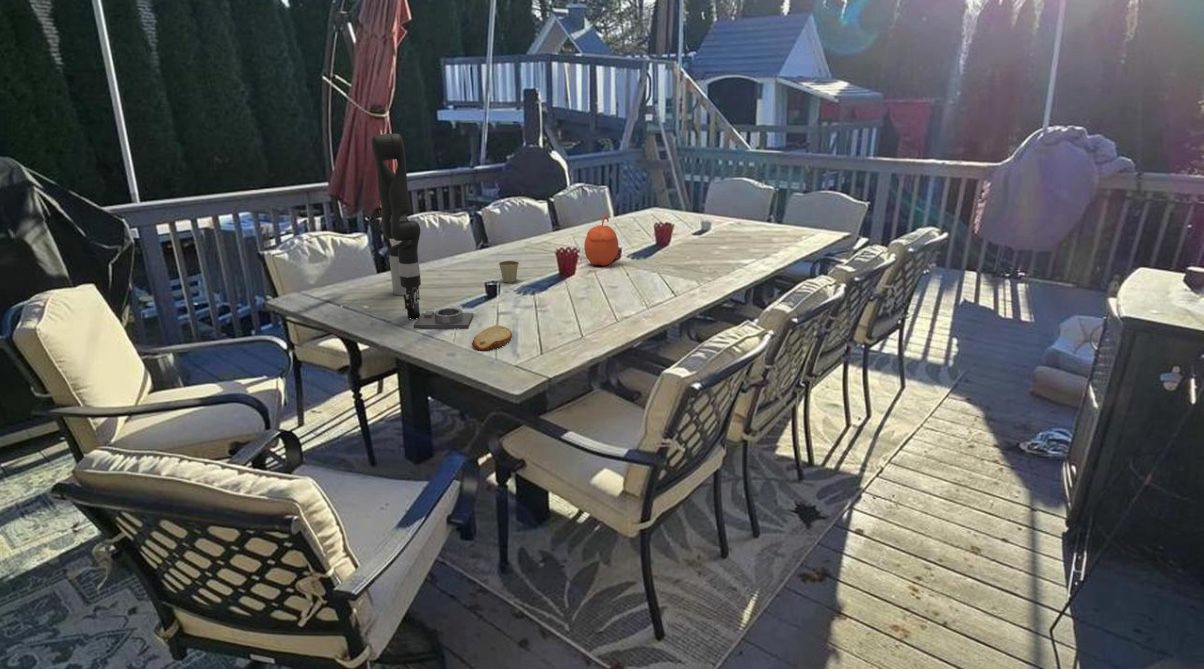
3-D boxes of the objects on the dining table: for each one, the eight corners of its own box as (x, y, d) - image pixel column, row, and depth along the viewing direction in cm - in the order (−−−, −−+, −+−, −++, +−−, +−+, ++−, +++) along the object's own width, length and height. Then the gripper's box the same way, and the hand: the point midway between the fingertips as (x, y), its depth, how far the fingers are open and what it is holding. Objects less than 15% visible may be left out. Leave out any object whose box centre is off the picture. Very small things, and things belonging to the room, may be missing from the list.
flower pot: (495, 280, 304) (494, 262, 301) (512, 277, 310) (511, 259, 307) (506, 285, 298) (505, 266, 295) (523, 281, 303) (523, 263, 300)
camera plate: (422, 316, 255) (421, 310, 254) (473, 316, 256) (473, 310, 255) (413, 328, 242) (413, 321, 241) (467, 328, 243) (467, 321, 242)
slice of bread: (503, 329, 244) (503, 319, 242) (526, 343, 230) (525, 334, 229) (458, 338, 234) (457, 328, 233) (478, 354, 220) (478, 344, 219)
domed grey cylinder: (409, 314, 257) (408, 299, 255) (421, 314, 257) (420, 300, 255) (406, 320, 251) (404, 304, 249) (418, 320, 251) (416, 304, 249)
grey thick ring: (438, 315, 252) (437, 307, 251) (464, 315, 252) (463, 307, 251) (433, 324, 243) (432, 315, 241) (460, 324, 243) (459, 315, 242)
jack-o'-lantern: (606, 258, 346) (607, 211, 337) (625, 265, 333) (626, 217, 324) (577, 263, 336) (577, 215, 327) (596, 270, 323) (596, 220, 314)
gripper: (404, 268, 254) (408, 309, 260) (394, 278, 241) (399, 321, 247) (423, 268, 255) (427, 309, 261) (415, 278, 241) (419, 321, 247)
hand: (413, 315), depth 254 cm, fingers closed on domed grey cylinder, 6 cm apart
